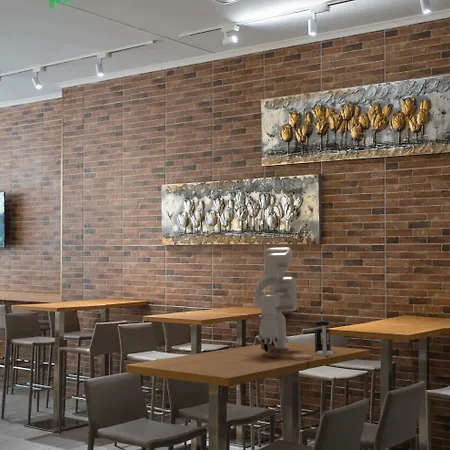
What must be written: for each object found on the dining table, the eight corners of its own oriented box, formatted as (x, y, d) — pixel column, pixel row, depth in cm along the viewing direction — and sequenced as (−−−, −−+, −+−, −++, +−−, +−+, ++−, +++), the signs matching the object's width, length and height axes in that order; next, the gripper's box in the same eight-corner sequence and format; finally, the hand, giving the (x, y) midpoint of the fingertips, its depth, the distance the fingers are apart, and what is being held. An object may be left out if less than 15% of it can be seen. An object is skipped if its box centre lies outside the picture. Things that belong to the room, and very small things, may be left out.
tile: (290, 355, 401) (296, 357, 392) (305, 354, 404) (312, 356, 394) (290, 358, 401) (296, 361, 392) (305, 357, 404) (312, 360, 394)
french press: (319, 349, 435) (317, 309, 436) (334, 350, 430) (332, 310, 431) (310, 351, 425) (309, 311, 426) (326, 352, 420) (324, 311, 421)
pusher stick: (258, 348, 422) (258, 341, 422) (268, 347, 424) (268, 340, 424) (270, 356, 400) (270, 349, 400) (281, 356, 401) (281, 348, 401)
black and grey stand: (314, 356, 407) (313, 328, 408) (317, 353, 417) (316, 326, 417) (332, 356, 405) (331, 328, 405) (335, 353, 414) (334, 326, 415)
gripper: (256, 318, 408) (257, 352, 407) (284, 317, 412) (285, 350, 411) (252, 317, 415) (253, 350, 414) (280, 316, 419) (281, 349, 418)
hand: (269, 350), depth 412 cm, fingers closed on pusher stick, 3 cm apart
